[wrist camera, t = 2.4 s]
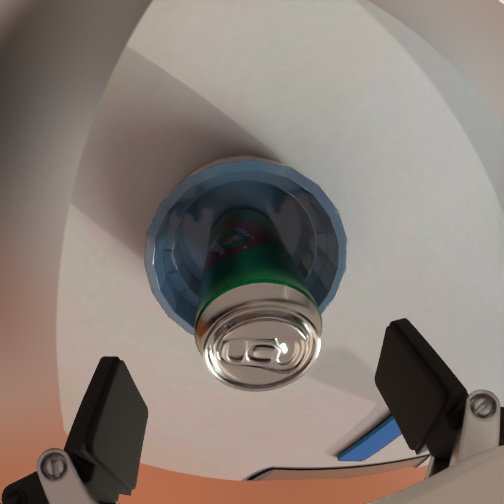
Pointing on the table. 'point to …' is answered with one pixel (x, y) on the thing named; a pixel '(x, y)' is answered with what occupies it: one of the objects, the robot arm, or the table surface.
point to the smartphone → (372, 442)
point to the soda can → (254, 307)
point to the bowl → (234, 198)
